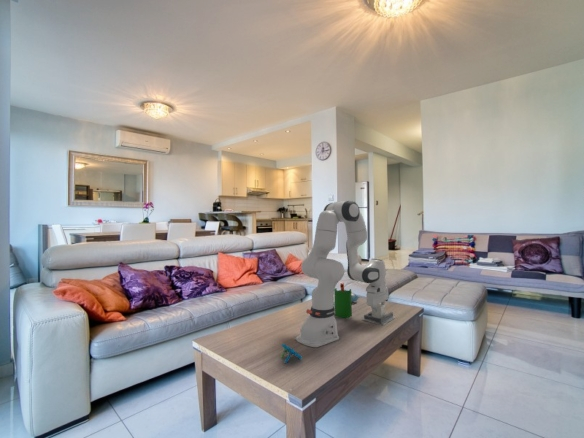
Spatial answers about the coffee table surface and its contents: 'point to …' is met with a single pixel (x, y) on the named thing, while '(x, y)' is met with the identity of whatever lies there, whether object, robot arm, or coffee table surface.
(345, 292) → the motor
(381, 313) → the cream rectangular block
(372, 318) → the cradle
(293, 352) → the blue green branched frame
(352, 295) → the owl figurine
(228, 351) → the coffee table surface
